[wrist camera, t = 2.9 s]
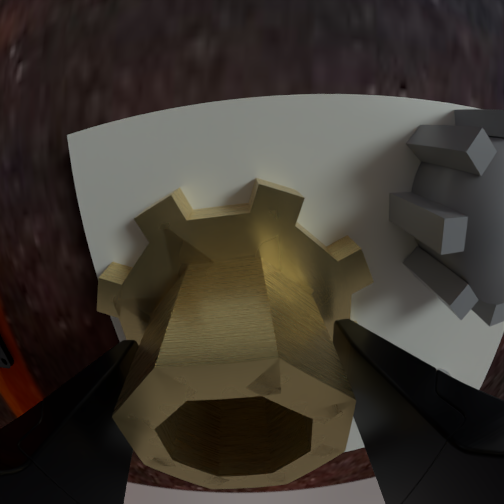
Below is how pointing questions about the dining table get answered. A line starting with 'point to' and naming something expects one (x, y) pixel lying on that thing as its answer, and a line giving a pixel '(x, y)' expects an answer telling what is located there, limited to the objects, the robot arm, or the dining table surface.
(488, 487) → the robot arm
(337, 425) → the gear
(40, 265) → the dining table surface
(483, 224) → the carrier
